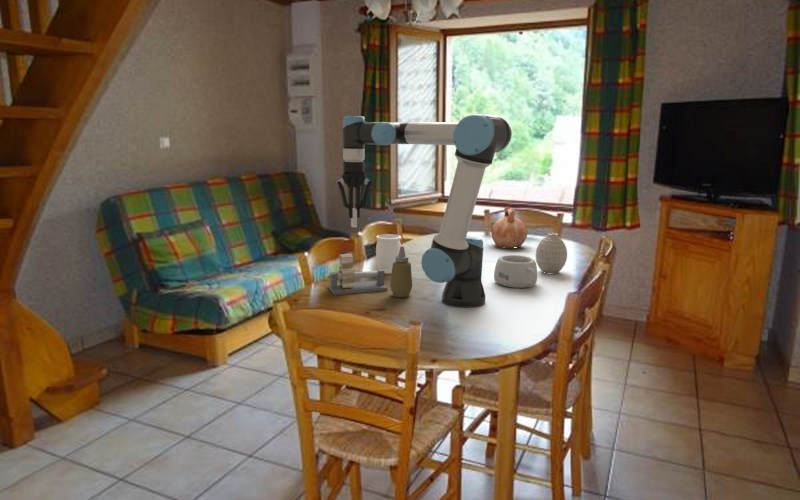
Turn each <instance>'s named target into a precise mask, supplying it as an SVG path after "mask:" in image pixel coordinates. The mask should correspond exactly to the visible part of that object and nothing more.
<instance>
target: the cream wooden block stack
mask: <svg viewBox="0 0 800 500" xmlns="http://www.w3.org/2000/svg"><path fill="white" fill-rule="evenodd" d="M354 272H355V269H354V256H353V255H352V254H351V253H345V254H343V253H342V254H339V265H338V273H342V280H338V283H339V284H340V285H341V286H342V287H343V288H350V287H354V282H355V279H354Z"/></svg>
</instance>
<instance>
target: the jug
mask: <svg viewBox="0 0 800 500" xmlns="http://www.w3.org/2000/svg"><path fill="white" fill-rule="evenodd" d="M503 212H504V216H503V217H501V218H500V219H498V220H496V222H494V224H493V226H492V227H491V231H490V232H491V239H492V240H493V242H494V244H495V245H497V246H499V247H505V248H514V247H519V246H520V247H521V246H522V245H523V244H524V243H525V242H526V241H527V237H528V234H529V233H528V228H527V227H526V225H525V223H524V222H523V221H522V220H521V219H519V218H517V217H515V215H516V210H515V209H511V207H510V206H505V207H504V211H503ZM497 246H496V247H497ZM499 247H498V248H499ZM520 247H519V248H520Z"/></svg>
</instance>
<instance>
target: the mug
mask: <svg viewBox="0 0 800 500" xmlns="http://www.w3.org/2000/svg"><path fill="white" fill-rule="evenodd" d="M537 267H538V265H537V262H536V259H534V258H532V257H530V256H525V255H520V254H519V255H517V254H516V255H515V254H507V255H506V254H505V255H502V256H499V257H498V259H497V260H496V264H495V266H494V271H493V278H494V281H495V282H496V283H497V284H498V285H500V286H503V287H506V288H513V289H514V288H516V289H523V288H532V287H534V286H535V285H536V284H537V282H538V268H537Z"/></svg>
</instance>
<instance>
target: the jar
mask: <svg viewBox="0 0 800 500" xmlns="http://www.w3.org/2000/svg"><path fill="white" fill-rule="evenodd" d="M375 239H376V240H377V242H376V247H375V254H376V261H377V262H376V263H377V265H378V269H383V270H384V275H386V274H387V275H388V274H389V275H390V274H392V266H393V263H394V262H395V256H398V255H399V251H400V247H401V246H402V243H401V240H402V236H401V235H399V234H393V233H382V234H378V235H376V237H375Z"/></svg>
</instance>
